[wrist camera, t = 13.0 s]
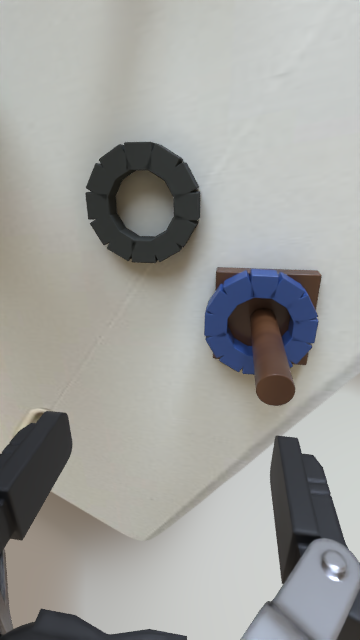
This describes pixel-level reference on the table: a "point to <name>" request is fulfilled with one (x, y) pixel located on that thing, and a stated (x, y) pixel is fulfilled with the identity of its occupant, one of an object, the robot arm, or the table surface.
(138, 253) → the charcoal ring
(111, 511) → the table surface
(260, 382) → the stand
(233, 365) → the navy ring
